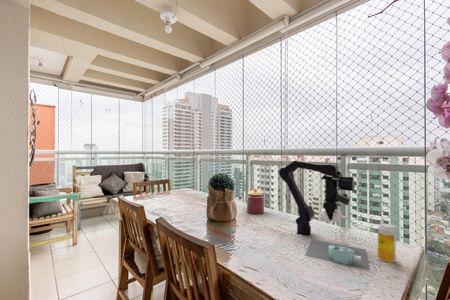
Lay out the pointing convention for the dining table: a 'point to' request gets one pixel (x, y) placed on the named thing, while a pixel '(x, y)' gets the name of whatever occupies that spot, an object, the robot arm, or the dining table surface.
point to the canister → (255, 202)
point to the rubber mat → (322, 252)
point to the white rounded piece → (336, 216)
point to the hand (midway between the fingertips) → (331, 218)
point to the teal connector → (342, 255)
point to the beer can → (386, 242)
